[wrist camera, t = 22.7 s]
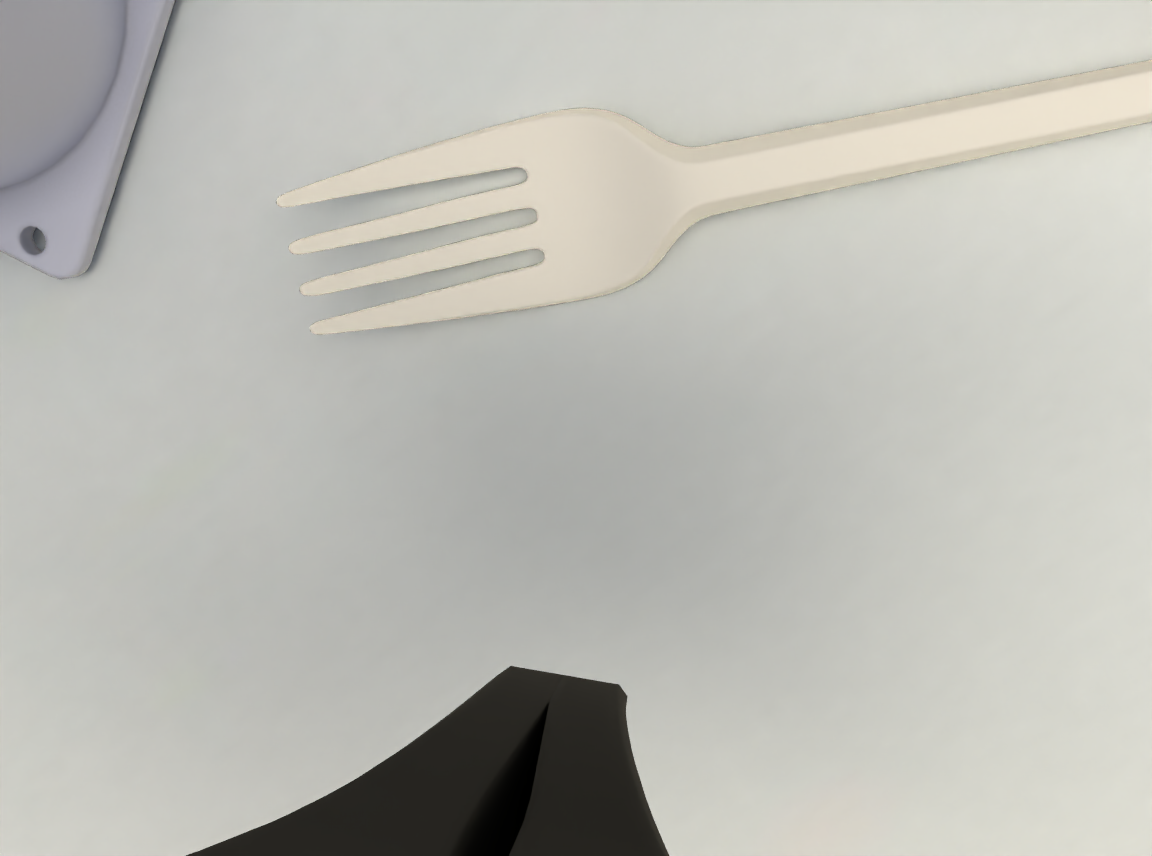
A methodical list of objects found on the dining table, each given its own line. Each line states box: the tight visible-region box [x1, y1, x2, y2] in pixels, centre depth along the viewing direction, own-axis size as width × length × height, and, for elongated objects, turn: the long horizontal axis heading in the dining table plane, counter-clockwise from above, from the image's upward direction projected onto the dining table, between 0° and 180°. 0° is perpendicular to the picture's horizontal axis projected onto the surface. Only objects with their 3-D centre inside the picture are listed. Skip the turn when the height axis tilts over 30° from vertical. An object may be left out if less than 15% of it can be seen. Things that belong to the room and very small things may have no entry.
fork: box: [276, 60, 1152, 335], centre depth 17 cm, size 3×20×2 cm, turn 102°
